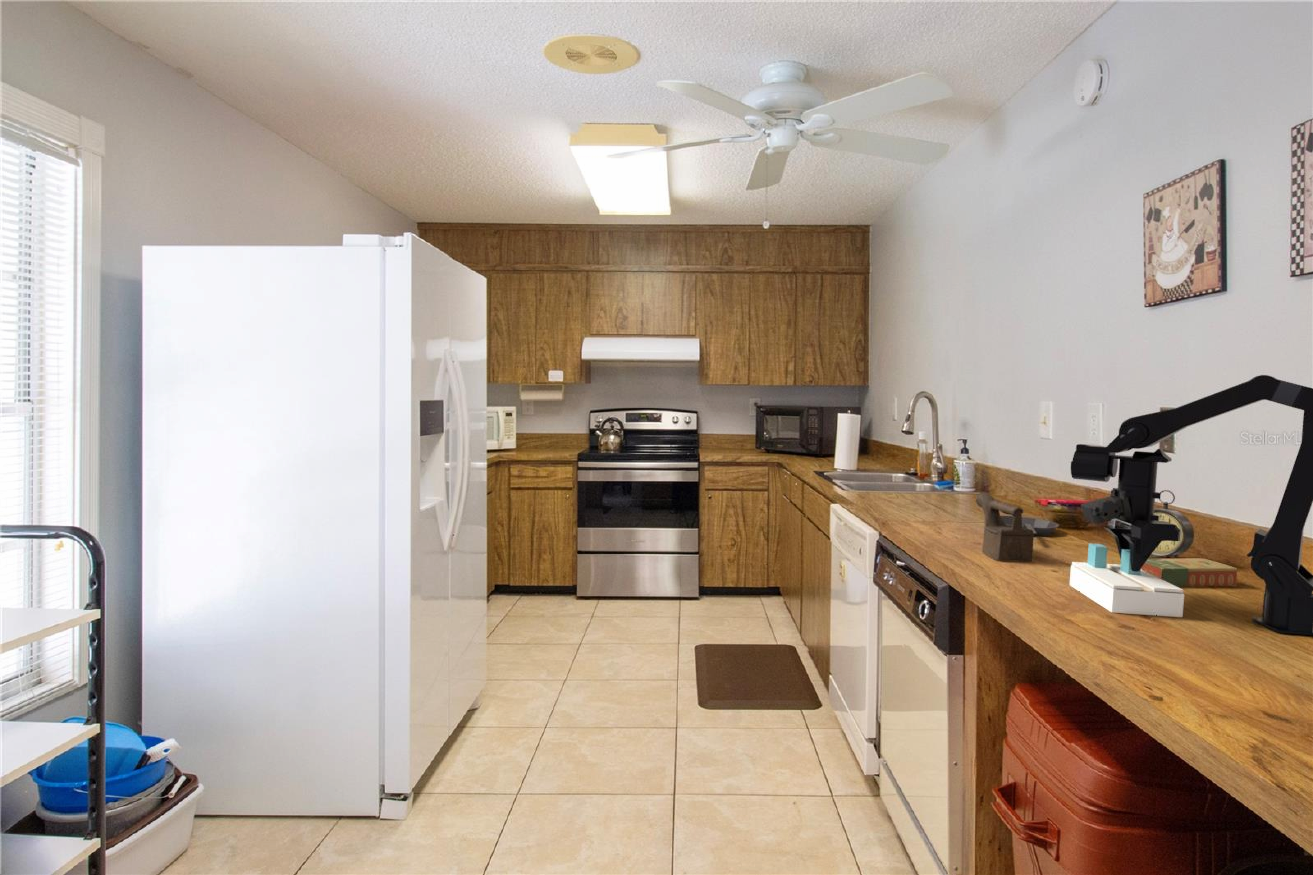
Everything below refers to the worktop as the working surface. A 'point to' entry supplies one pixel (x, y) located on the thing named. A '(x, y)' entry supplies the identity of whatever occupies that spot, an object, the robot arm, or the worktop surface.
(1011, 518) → the frying pan
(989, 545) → the clothes iron
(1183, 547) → the alarm clock
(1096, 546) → the flap
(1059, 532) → the worktop surface
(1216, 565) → the carton
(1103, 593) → the carton box
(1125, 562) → the flap
